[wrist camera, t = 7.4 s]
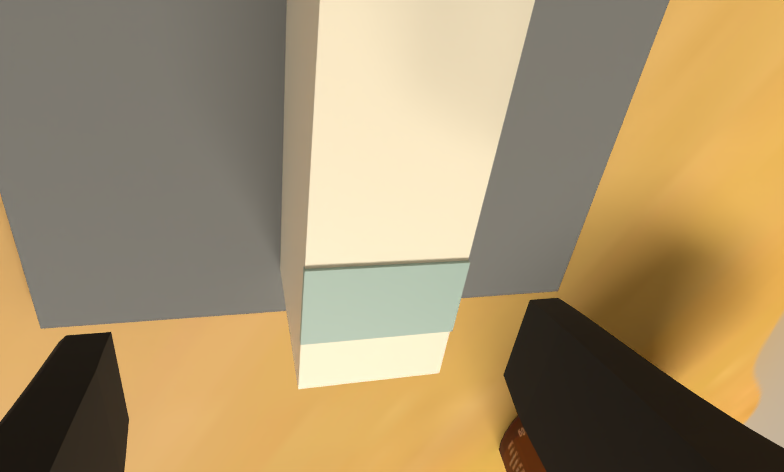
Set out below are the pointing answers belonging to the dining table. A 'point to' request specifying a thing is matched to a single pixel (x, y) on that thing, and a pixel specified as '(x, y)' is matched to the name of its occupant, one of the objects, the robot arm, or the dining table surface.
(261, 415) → the dining table surface
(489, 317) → the dining table surface
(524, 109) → the mat
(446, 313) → the cream box
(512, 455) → the food container
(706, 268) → the dining table surface
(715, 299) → the dining table surface
